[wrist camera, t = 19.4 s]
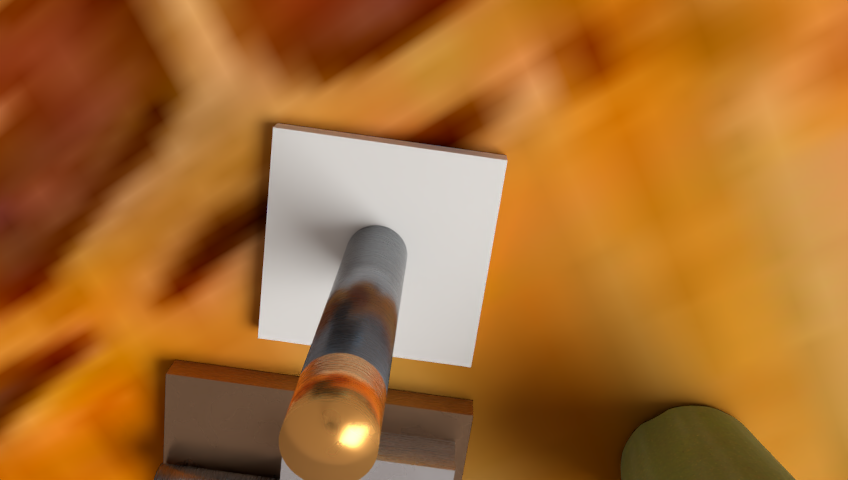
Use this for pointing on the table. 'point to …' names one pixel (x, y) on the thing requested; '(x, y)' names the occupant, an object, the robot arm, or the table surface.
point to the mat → (386, 206)
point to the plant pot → (697, 449)
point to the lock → (264, 415)
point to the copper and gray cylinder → (348, 364)
